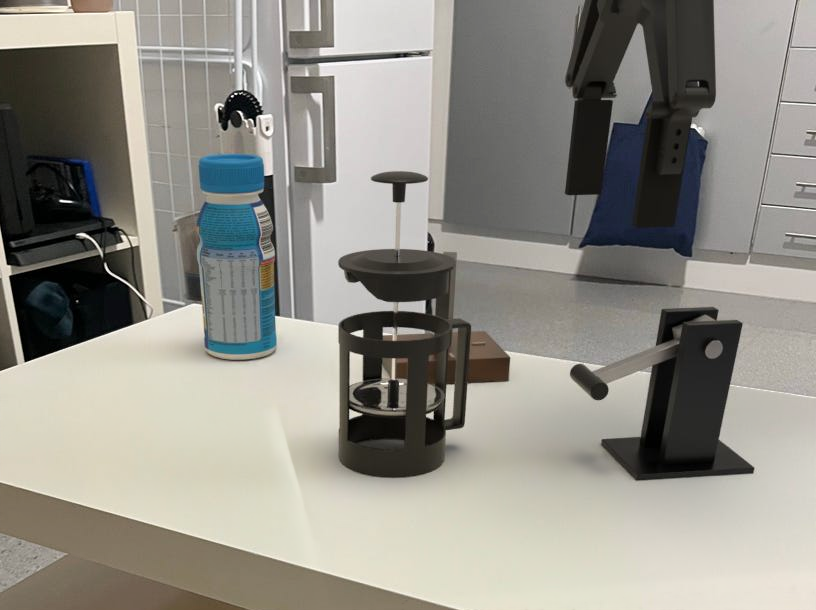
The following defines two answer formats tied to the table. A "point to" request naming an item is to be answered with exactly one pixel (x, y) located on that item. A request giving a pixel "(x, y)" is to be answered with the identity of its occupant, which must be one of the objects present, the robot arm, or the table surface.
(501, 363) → the brown box
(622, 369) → the lever
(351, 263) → the french press
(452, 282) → the dark gray upright plate
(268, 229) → the beverage bottle
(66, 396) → the table surface
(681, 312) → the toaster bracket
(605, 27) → the robot arm
